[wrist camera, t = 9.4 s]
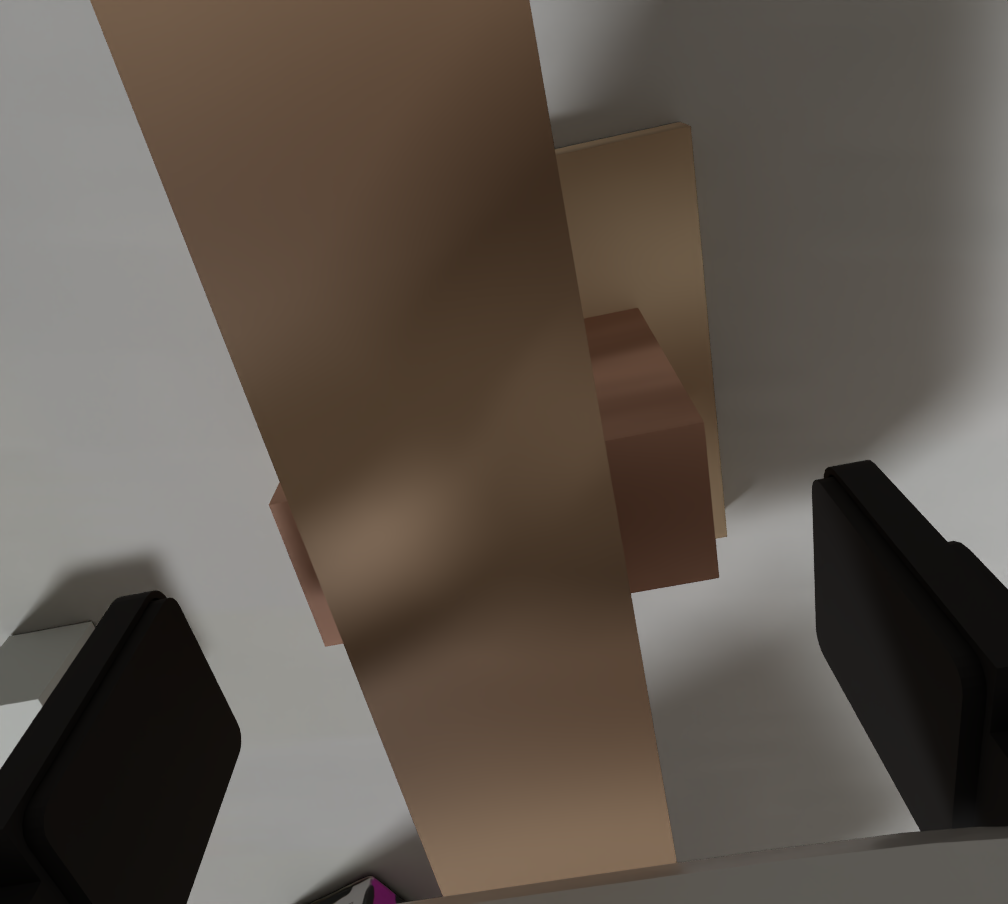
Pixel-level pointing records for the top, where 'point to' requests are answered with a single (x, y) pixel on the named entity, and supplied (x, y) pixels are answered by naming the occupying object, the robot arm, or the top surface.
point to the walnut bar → (421, 397)
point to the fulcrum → (631, 357)
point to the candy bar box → (362, 894)
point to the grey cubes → (33, 676)
